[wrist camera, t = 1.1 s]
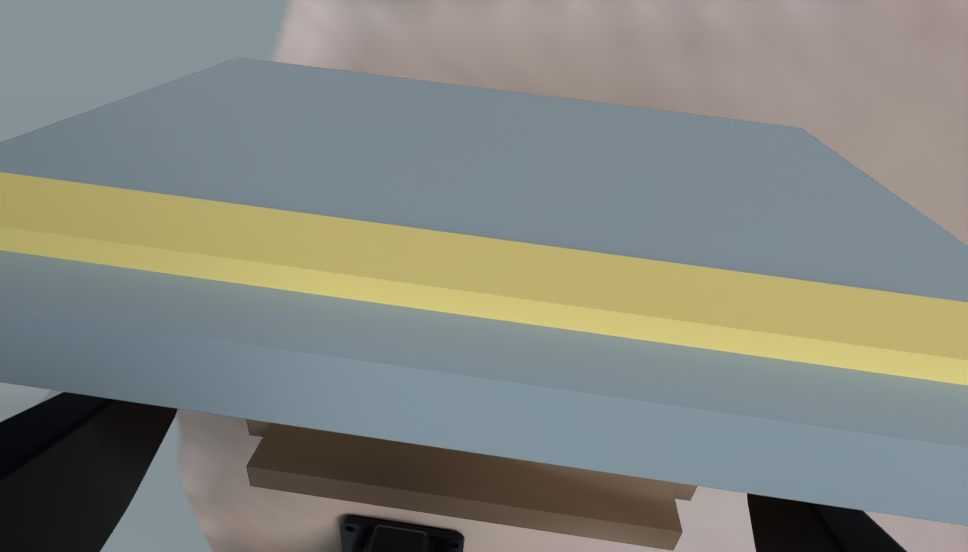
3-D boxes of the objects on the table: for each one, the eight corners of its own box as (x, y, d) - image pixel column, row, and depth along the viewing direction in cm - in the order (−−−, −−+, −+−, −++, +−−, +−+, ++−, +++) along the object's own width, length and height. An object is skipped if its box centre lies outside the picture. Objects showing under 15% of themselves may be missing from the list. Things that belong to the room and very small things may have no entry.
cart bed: (668, 416, 22) (704, 555, 17) (293, 362, 23) (221, 481, 18) (773, 153, 16) (877, 247, 11) (260, 88, 17) (135, 149, 12)
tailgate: (786, 164, 14) (1226, 564, 5) (244, 95, 15) (-263, 342, 6) (806, 116, 14) (1359, 476, 4) (236, 45, 14) (-357, 232, 5)
